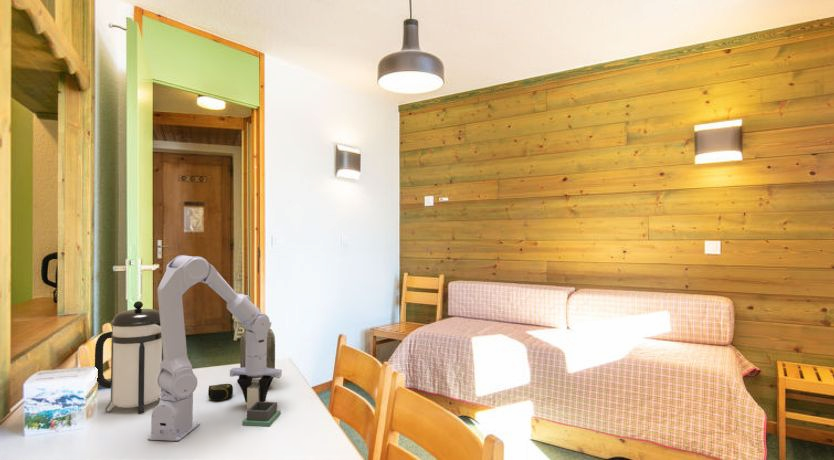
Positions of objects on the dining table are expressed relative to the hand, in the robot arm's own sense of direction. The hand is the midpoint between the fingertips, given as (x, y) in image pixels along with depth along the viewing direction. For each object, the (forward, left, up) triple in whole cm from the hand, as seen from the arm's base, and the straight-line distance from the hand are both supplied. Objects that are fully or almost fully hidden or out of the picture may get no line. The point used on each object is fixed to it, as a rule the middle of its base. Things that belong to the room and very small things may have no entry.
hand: (255, 401), depth 128 cm
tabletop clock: (+17, +7, -2) cm, 18 cm away
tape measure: (+6, +14, -2) cm, 15 cm away
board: (-8, -6, -1) cm, 10 cm away
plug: (0, 0, -2) cm, 2 cm away
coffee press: (-3, +35, -2) cm, 35 cm away
